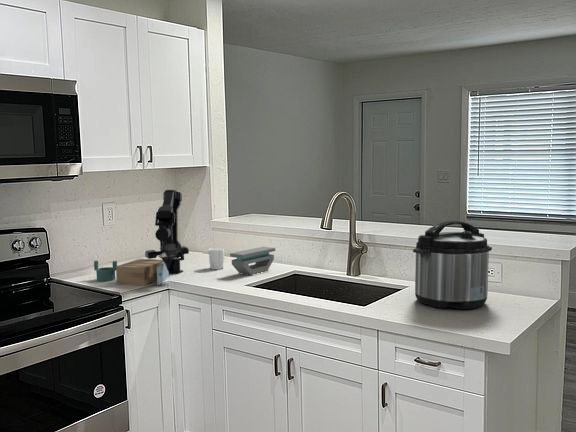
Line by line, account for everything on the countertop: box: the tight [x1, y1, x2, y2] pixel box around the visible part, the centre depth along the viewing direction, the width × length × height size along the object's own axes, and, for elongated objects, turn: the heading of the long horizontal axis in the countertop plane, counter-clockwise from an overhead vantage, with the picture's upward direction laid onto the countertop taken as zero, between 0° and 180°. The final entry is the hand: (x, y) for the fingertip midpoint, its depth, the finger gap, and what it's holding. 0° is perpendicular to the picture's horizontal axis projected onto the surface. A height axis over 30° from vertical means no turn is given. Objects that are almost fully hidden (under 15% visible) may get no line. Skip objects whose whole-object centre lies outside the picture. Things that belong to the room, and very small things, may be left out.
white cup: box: [208, 247, 225, 270], centre depth 296 cm, size 8×8×10 cm
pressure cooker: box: [412, 220, 493, 310], centre depth 224 cm, size 30×28×32 cm
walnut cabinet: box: [115, 258, 163, 287], centre depth 269 cm, size 20×14×8 cm
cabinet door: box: [156, 262, 170, 286], centre depth 267 cm, size 20×2×8 cm, turn 0°
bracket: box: [93, 260, 118, 283], centre depth 271 cm, size 9×9×9 cm
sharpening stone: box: [229, 246, 276, 276], centre depth 285 cm, size 25×8×11 cm, turn 143°
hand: (168, 270), depth 265 cm, fingers closed
